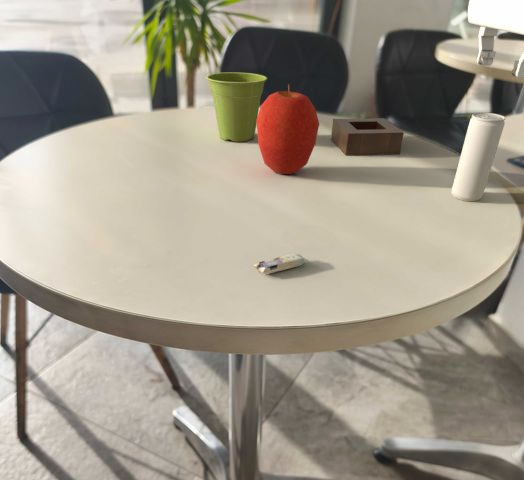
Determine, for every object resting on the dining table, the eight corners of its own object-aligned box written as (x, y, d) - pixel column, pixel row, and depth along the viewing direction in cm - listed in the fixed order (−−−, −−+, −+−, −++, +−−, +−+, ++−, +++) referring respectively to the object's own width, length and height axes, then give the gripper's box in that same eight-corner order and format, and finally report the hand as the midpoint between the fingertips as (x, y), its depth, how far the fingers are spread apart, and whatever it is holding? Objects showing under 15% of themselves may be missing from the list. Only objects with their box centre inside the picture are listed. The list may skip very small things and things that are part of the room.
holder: (381, 138, 105) (384, 118, 103) (399, 154, 97) (404, 132, 94) (330, 139, 104) (333, 118, 101) (345, 155, 95) (348, 133, 93)
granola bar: (299, 257, 61) (299, 249, 61) (309, 265, 60) (310, 257, 59) (251, 269, 59) (251, 261, 58) (260, 277, 57) (260, 270, 57)
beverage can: (486, 202, 78) (511, 120, 70) (455, 202, 77) (478, 120, 70) (475, 191, 81) (498, 112, 74) (446, 190, 81) (466, 111, 74)
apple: (258, 182, 82) (259, 89, 74) (253, 163, 90) (254, 77, 82) (319, 181, 83) (327, 90, 75) (309, 162, 91) (316, 77, 82)
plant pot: (277, 138, 103) (279, 77, 96) (234, 149, 96) (234, 85, 89) (239, 127, 110) (238, 69, 103) (196, 136, 103) (193, 75, 96)
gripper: (623, -61, 52) (568, 85, 61) (516, -56, 68) (485, 59, 77) (569, -64, 51) (521, 85, 60) (474, -58, 67) (447, 59, 76)
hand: (500, 70), depth 68 cm, fingers open, 8 cm apart
